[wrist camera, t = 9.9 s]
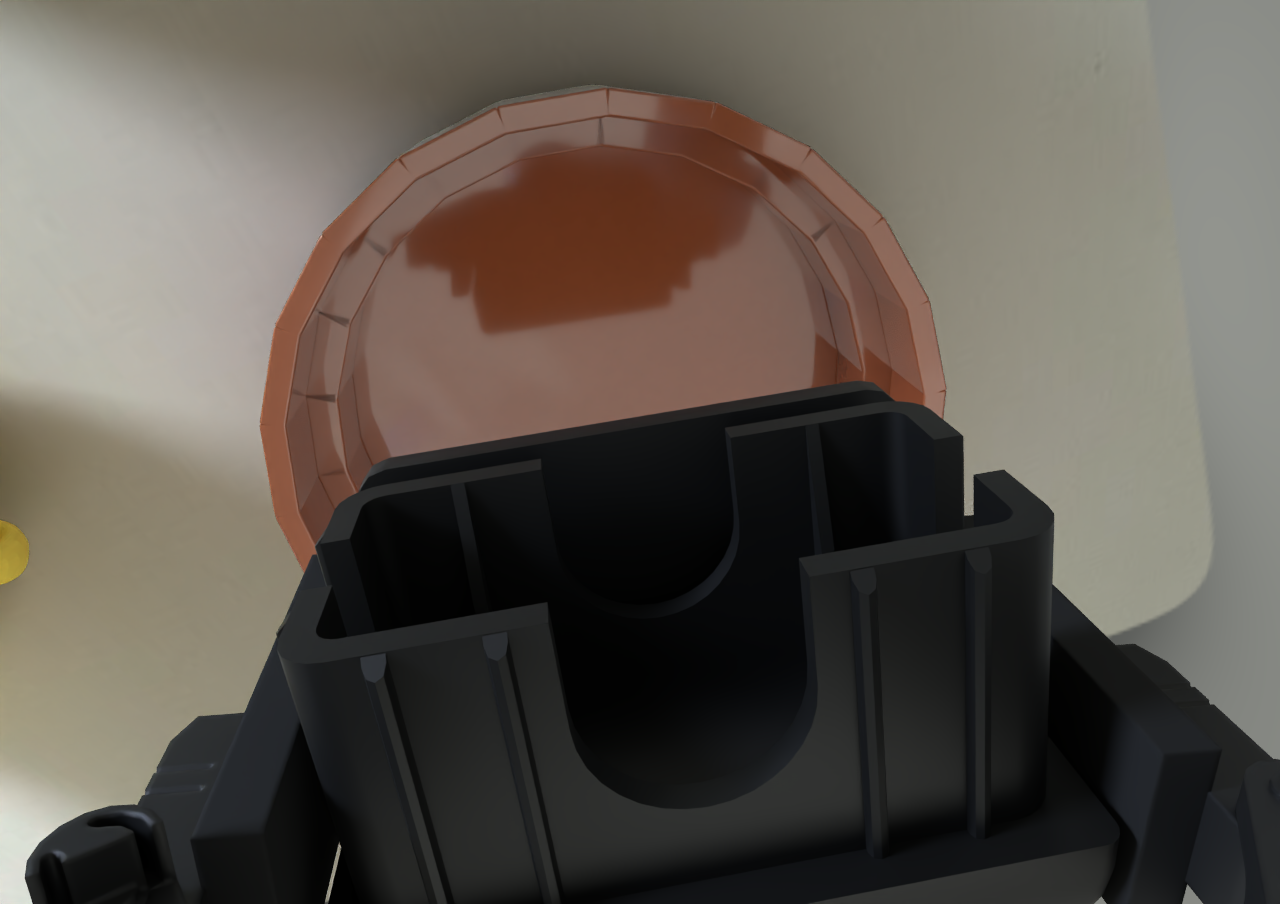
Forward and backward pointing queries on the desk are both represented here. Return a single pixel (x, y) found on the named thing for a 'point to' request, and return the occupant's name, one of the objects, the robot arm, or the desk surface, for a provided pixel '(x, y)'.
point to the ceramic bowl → (579, 289)
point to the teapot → (12, 552)
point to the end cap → (694, 669)
